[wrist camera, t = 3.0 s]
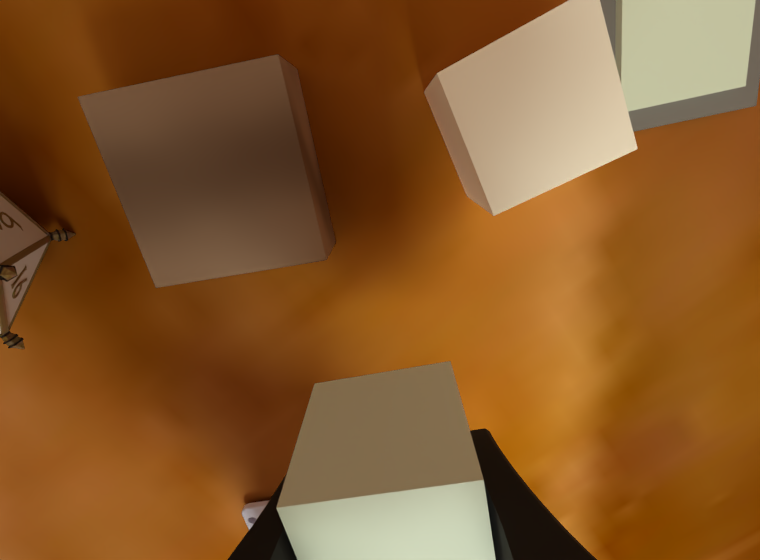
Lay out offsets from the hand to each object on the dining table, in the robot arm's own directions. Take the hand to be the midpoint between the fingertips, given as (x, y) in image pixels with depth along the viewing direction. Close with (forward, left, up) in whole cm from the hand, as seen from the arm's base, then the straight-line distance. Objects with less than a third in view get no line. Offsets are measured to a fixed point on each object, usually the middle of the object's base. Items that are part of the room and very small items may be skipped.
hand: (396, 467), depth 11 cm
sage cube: (0, 0, -2) cm, 2 cm away
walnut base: (+9, +5, -8) cm, 13 cm away
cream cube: (+9, -6, -8) cm, 13 cm away
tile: (+11, -13, -8) cm, 18 cm away
